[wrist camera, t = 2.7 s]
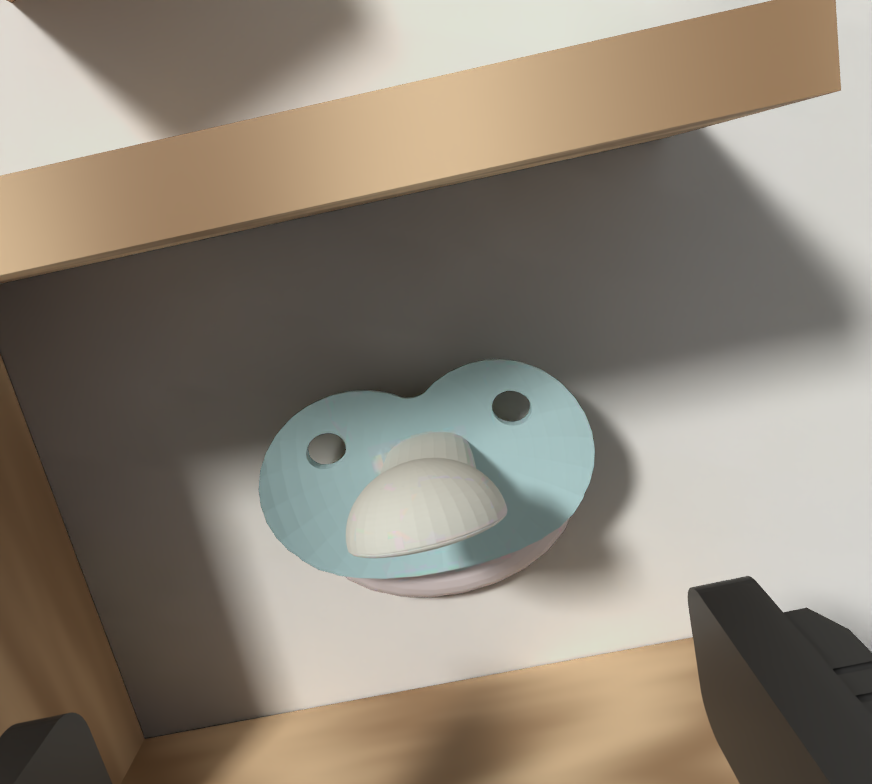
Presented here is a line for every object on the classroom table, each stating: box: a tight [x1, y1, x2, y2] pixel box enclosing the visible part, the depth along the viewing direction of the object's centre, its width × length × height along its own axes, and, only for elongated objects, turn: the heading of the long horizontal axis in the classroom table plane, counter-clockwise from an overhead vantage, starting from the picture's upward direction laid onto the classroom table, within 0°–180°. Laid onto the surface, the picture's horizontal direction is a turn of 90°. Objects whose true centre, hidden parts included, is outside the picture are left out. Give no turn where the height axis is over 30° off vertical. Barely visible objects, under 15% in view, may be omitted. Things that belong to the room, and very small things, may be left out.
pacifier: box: [259, 359, 595, 597], centre depth 15 cm, size 7×6×6 cm
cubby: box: [0, 0, 841, 784], centre depth 14 cm, size 17×15×7 cm
